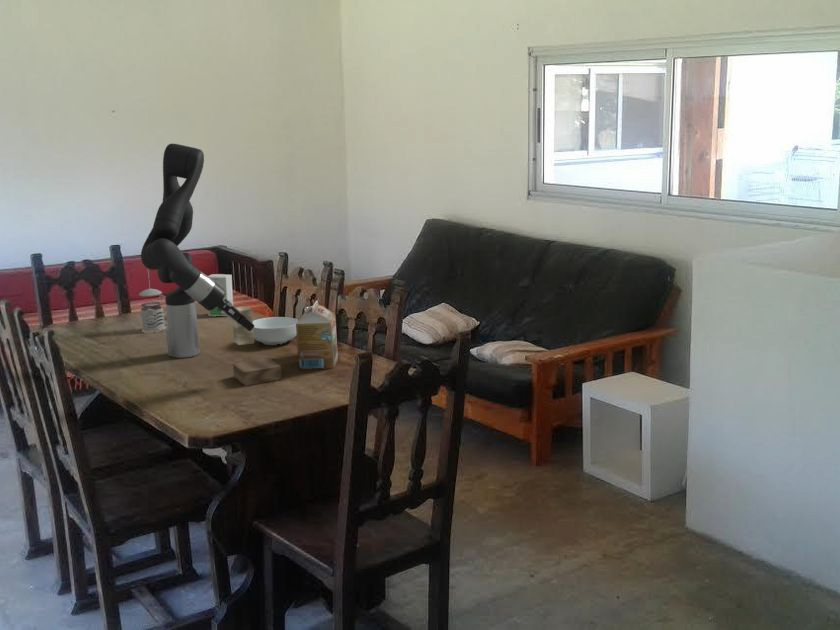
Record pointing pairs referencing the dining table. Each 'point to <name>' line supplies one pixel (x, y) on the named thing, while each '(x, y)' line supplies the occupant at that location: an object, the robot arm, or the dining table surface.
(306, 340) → the milk carton
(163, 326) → the french press
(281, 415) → the dining table surface
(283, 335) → the cereal bowl
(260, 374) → the walnut base
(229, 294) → the skincare box
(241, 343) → the beech block
